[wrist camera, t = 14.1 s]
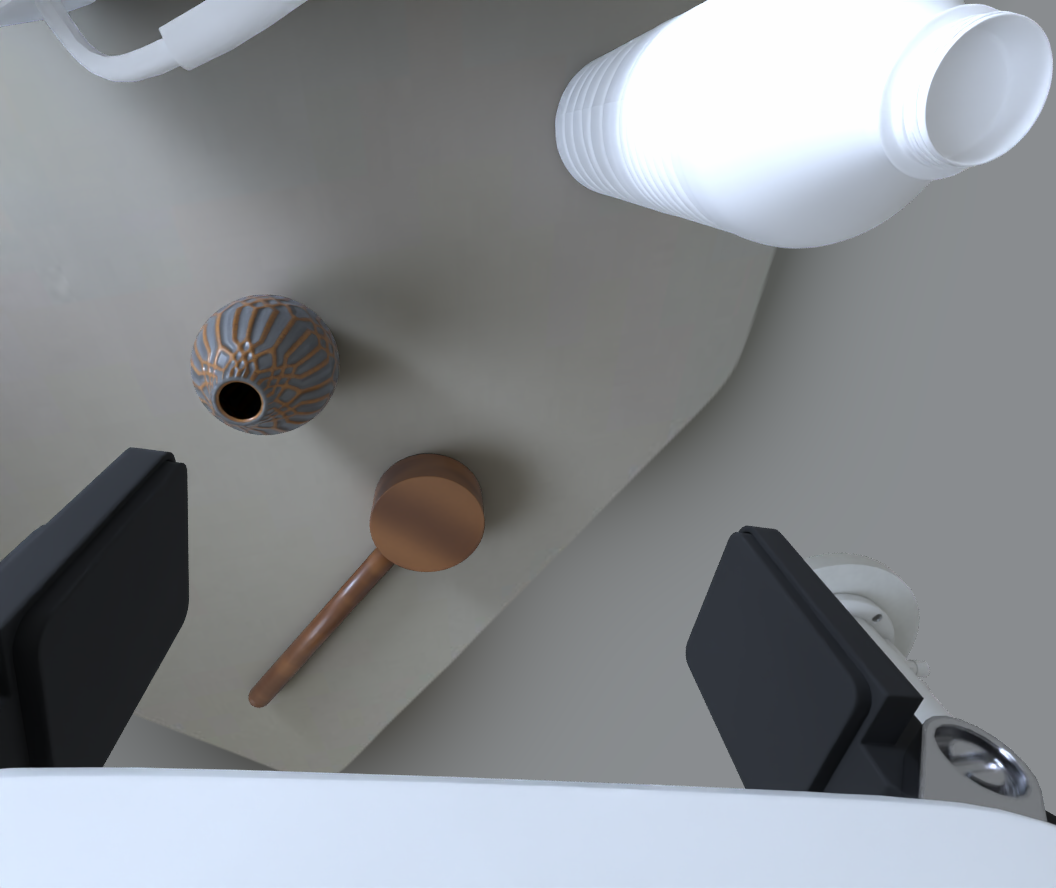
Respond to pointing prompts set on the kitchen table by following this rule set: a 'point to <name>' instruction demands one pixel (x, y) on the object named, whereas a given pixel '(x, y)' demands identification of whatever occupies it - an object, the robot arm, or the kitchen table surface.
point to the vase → (265, 364)
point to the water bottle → (802, 111)
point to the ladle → (396, 547)
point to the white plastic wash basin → (188, 41)
